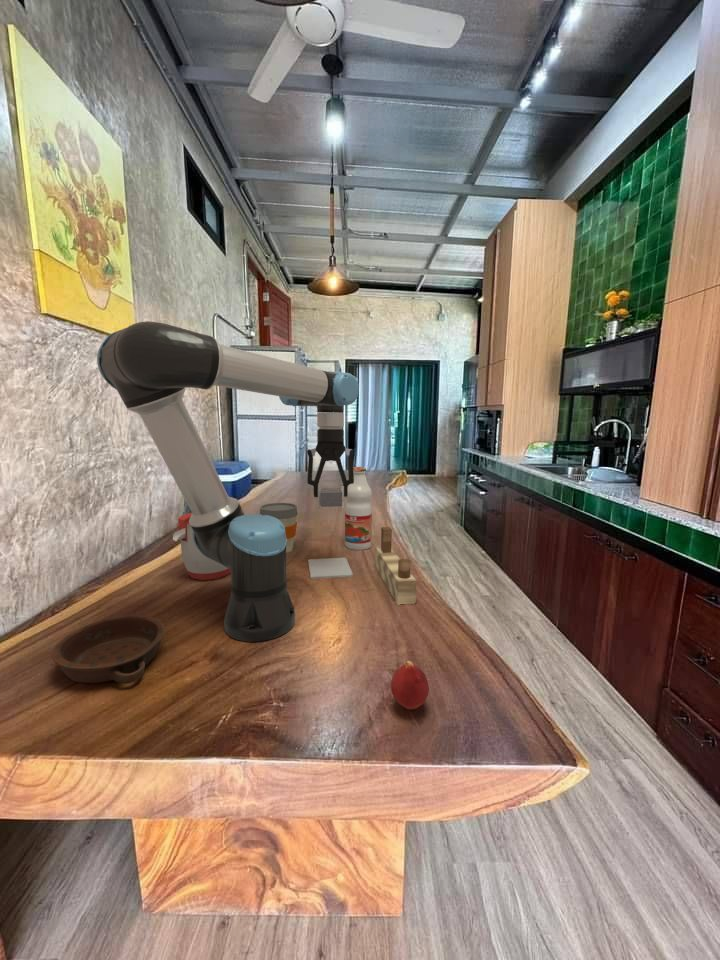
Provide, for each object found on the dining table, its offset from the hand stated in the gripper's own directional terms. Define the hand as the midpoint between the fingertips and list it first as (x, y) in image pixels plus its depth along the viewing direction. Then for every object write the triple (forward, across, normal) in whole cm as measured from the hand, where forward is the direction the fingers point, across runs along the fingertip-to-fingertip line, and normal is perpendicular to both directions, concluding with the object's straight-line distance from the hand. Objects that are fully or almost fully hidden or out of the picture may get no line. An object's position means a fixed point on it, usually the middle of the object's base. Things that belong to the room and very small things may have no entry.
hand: (330, 507), depth 117 cm
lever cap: (-1, 0, 0) cm, 1 cm away
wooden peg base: (+19, -16, +12) cm, 28 cm away
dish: (+19, +44, +40) cm, 62 cm away
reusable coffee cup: (+19, +16, -20) cm, 32 cm away
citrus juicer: (+19, +35, -1) cm, 40 cm away
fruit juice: (+19, -12, -20) cm, 30 cm away
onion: (+19, -7, +60) cm, 63 cm away
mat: (+19, 0, 0) cm, 19 cm away
